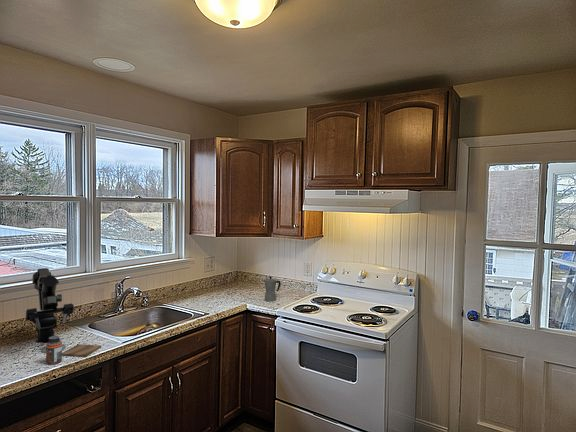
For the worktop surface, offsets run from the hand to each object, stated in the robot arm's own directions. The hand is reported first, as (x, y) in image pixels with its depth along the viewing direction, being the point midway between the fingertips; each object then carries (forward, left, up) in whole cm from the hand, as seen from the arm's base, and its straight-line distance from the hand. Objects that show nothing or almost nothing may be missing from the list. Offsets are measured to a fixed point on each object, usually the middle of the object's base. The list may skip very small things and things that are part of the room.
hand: (51, 327), depth 171 cm
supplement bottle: (+5, -6, -14) cm, 16 cm away
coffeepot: (+85, +117, -14) cm, 146 cm away
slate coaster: (-6, +8, -13) cm, 17 cm away
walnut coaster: (+9, +7, -13) cm, 18 cm away
